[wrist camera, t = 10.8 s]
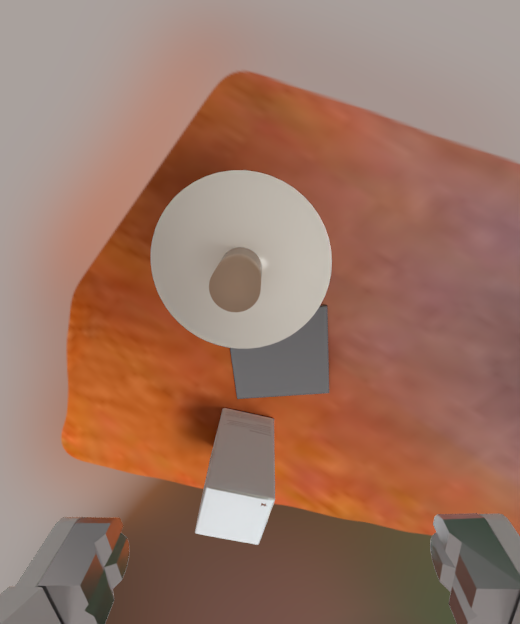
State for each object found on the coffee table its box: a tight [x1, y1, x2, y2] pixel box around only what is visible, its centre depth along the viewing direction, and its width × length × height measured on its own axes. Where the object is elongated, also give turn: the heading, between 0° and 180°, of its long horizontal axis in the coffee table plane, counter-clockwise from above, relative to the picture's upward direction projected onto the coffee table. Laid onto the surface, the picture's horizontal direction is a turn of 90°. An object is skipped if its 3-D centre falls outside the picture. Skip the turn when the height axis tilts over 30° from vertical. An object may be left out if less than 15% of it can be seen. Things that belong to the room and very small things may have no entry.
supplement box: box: [195, 408, 275, 545], centre depth 40 cm, size 7×7×13 cm
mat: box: [230, 305, 329, 399], centre depth 41 cm, size 12×12×1 cm
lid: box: [151, 170, 332, 349], centre depth 20 cm, size 12×12×6 cm
